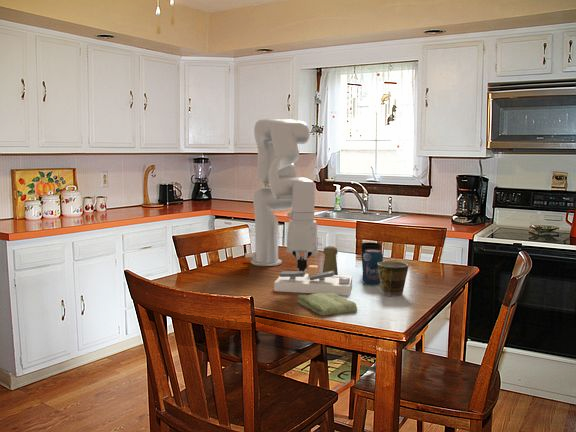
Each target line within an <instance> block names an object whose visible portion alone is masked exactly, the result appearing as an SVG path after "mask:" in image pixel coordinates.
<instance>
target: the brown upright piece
mask: <svg viewBox="0 0 576 432" xmlns="http://www.w3.org/2000/svg"><path fill="white" fill-rule="evenodd" d="M323 254H324V261H323V267H322V272H321V273H324V272H329V271H334V275H339V272H338V265H337V255H338V248H337V247H336V246H331V245H330V246H329V245H328V246H325V247H324V248H323Z"/></svg>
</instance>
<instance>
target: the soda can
mask: <svg viewBox="0 0 576 432" xmlns="http://www.w3.org/2000/svg"><path fill="white" fill-rule="evenodd" d="M383 261H384V255H383V253H382V249H381V250H378V249H366V250H365V252H364V254H363V268H362V281H363V283H364V285H366V286H371V287H372V286H373V287H374V286H381V285H380V277H379V273H378V263H379V262H383Z"/></svg>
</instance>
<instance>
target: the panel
mask: <svg viewBox="0 0 576 432" xmlns="http://www.w3.org/2000/svg"><path fill="white" fill-rule="evenodd" d="M310 276H311V275H308V273H305V275H304V277H280V275H279V276H278V278H277V279H276V280H274V283H273V284H274V285H273V286H274V287H273V289H274V292H281V293H282V292H284V293H301V294H303V293H304V294H320V293H326V294H327V293H334V294H337V295H338V296H341V295H342V296H350V293H351V291H352V287H353V286H352V285H353V275H339V274H338V275H334V276H331V277H326V278H320V279H315V280H310Z"/></svg>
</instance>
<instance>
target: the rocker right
mask: <svg viewBox="0 0 576 432" xmlns="http://www.w3.org/2000/svg"><path fill="white" fill-rule="evenodd" d="M331 276H334V271H329V272H324V273H322V272H318V274H313V275H311V276H310V280H315V279H320V278H326V277H331Z"/></svg>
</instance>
